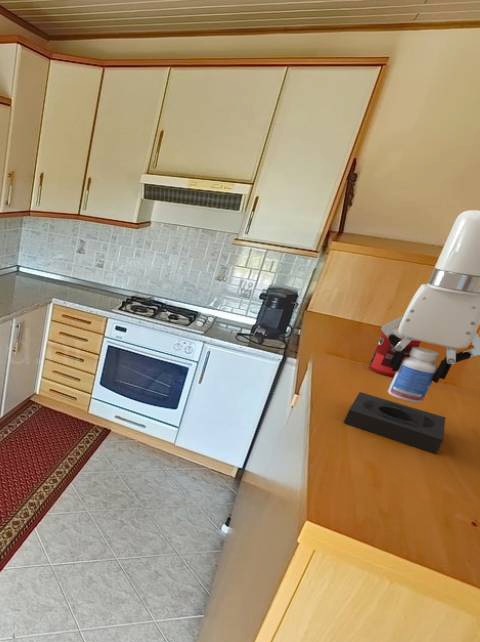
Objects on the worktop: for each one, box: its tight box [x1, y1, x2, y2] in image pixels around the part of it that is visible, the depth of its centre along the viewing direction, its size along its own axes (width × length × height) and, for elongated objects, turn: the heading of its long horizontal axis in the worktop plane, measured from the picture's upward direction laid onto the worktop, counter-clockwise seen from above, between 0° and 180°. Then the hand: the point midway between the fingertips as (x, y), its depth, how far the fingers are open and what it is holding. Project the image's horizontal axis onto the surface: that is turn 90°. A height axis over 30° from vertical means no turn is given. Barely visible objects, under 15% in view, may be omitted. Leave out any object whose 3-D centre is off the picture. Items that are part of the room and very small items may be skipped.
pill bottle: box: [387, 347, 440, 404], centre depth 93 cm, size 6×5×10 cm
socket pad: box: [343, 391, 446, 455], centre depth 97 cm, size 14×14×3 cm
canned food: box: [369, 328, 422, 378], centre depth 127 cm, size 8×8×11 cm
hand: (414, 374), depth 93 cm, fingers closed on pill bottle, 5 cm apart
